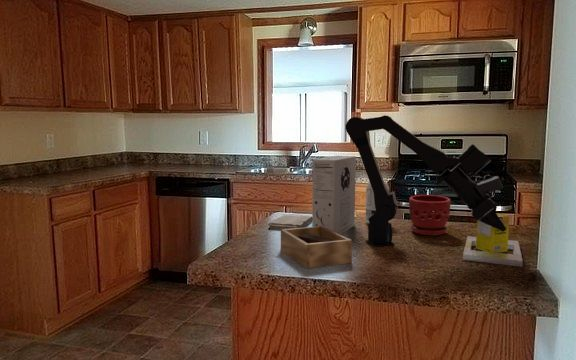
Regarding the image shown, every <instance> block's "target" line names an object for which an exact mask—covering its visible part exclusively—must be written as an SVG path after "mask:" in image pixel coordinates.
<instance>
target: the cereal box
mask: <svg viewBox="0 0 576 360" xmlns="http://www.w3.org/2000/svg"><path fill="white" fill-rule="evenodd" d="M356 158H357V157H356V156H355V155H332V156H325V157H321V158H320V157H319V158H315V159H314V158H313V159H312V194H311V195H312V197H311V198H312V199H311V200H312V201H311V202H312V203H311V205H312V209H311V210H312V211H311V213H312V215H311V216H312V222H311V223H312V224H311V227H316V226H323V227H325V228H327V229H329V230H331V231H334V232H336V233H338V234H340V235H342V234H343V233H345V232H347V231H348V230H349V229H352V228H354V227H355V223H356V222H355V219H356V218H355V217H356V216H355V214H356V206H355V205H356V204H355V203H356V168H357V166H356V165H357V163H356V162H357V159H356Z"/></svg>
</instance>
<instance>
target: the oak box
mask: <svg viewBox="0 0 576 360" xmlns="http://www.w3.org/2000/svg"><path fill="white" fill-rule="evenodd" d="M305 234H311V235H315V236H318V237H322V238H326V239H330V240H332V241H329V242H319V243H309V244H308V243H306V242H305V241H303V240H301V239H299V236H301V235H305ZM280 251H281V252H283V253H284V254H285V255H287V256H288V257H289V258H291V259H292V260H293V261H295V262H296V263H298V264H299V265H301V266H302V267H304V269H311V268H319V267H320V268H321V267H329V266H335V265H345V264H351V263H352V262H353V259H352V258H353V240H352V239H351V238H348V237H346V236H344V235H342V234H338V233H336V232H334V231H331V230H329V229H327V228H325V227H323V226H316V227H312V226H309V227H308V226H306V227H304V228H293V229H282V230H280Z"/></svg>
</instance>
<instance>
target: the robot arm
mask: <svg viewBox="0 0 576 360" xmlns="http://www.w3.org/2000/svg"><path fill="white" fill-rule="evenodd" d="M379 130H385V132H387V133H388V134H389V135H391V136H392V137H394V138H395V139H396V140H397V141H398V142H400V143H401V144H403V146H406V147H407V148H408V149H410V150H412V152H414V153H415V154H416V156H418V157H419V158H420V160H421V161H422V162H423V163H424V164H425V165H426V166H427V167H428V169H430V170H431V171H433V172H435V173H436V172H437V173H438V172H442V171H443V172H442V173H441V174H435V178H436V181H435V182H436V186H439V185H440V184H441V183H443V182H444V184H445V185H446V186H447V187H448V188H449V189H450V190H451V191H452V192H453V193H454V194H455V195H456V197H457V198H458V199H460V200H461V201H462V203H464V204H465V205H466V206H467V208H468V209H469V210H471V212H470V213H471V216H472V217H473V218H474V219H475V220H476V221H477V220H478V221H480V222H483V223H485V224H488V225H490V226H492V227H494V228H497V229H499V230H501V231H505V230H506V227H505V226H504V224H503V223H502V221H501V220H500V218H499V217H498V216H497V214H496V213H497V208H498V206H497V204H496V203H495V202H494V200H492V198H491V196H490V195H489V194H490V193H492V192H495V191H500V190H502V189H504V186H503V184H502V181H501V179H500V176H498V175H497V176H492V175H490V174H486V175H484V176H483V180H482V181H480V182H478V183H477V182H476V181H475V180H472V179H471V178H470V177H469V176H468V175H471V174H474V175H477V174H478V173H479V172H480V171H481V170H482V169H483V168H485V167H486V166H487V165H488V164H489V163H491V162H492V160H491V159H490V158H489V156H487V155H486V153H484V152H483V151H481V150H480V149H479V148H478V147H477V146H476V145H475V144H473V143H472V144H470V145H469V146H468V148H466V150H464V151H463V152H462V154H460V155H459V156H455V155H453V156H452V155H447V153H445V152H444V151H442V150H440V149H438V148H436V147H434V146H432V145H430V144H428V143H425V142H424V141H422V140H421V139H419V138H418V137H417V136H416V135H414V134H413V133H412V132H410V131H409V130H407V129H406V128H404V127H403V126H402V125H401V124H399V123H398V122H396V121H395V120H394V119H393V117H391V116H389V115H381V116H379V117H378V116H377V117H369V118H363V117H359V116H352V117H350V118H349V119H348V120H347V122H346V123H345V131H346V133H347V135H348V136H349V138H350V140H351V141H352V143H353V144H354V145H355V147H356V149H357V150H358V153H359V156H360V159H361V162H362V164H363V165H362V166H364V169H365V173H366V175H367V178H368V181H369V182H370V184H371V187H372V189H373V192H374V202H375V208H376V211H375V212H374V213H373V214H372V215H371V216H370V218H369V223H368V224H367V229H368V230H367V233H368V234H367V239H365V241H364V242H366V243H368V244H370V245H372V246H374V247H383V246H384V247H385V246H391V245H392V246H393V245H395V242H393V232H394V231H393V227H392V223H391V222H390V221H391V220H393V219H394V218H395V217H396V215H397V212H398V209H399V207H398V206H399V204H400V202H399V201H398V200H397V197H396V193H395V191H394V190H393V191H391V192H390V190H389V191H388V189H387V188H386V186H385V183H384V182H385V181H384V178H383V174H382V172H381V169H380V166H379V163H378V161H377V158H376V156H375V153H374V150H373V147H372V145H371V135H370V132H371V131H379ZM448 167H453V168H452V169H449V168H448ZM460 167H461V168H462V169H463V170H464V171H465V172H466V173H467V174H468V175H467V174H466V173H465V172H464V171H463V170H462V169H461V168H460ZM446 168H447V169H446Z"/></svg>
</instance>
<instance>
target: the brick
mask: <svg viewBox="0 0 576 360" xmlns="http://www.w3.org/2000/svg"><path fill="white" fill-rule="evenodd" d="M299 239H301V240H303V241H305V242H306V243H308V244H309V243H319V242H329V241H332V240H330V239H326V238H322V237H318V236H315V235H311V234H305V235H301V236H299Z"/></svg>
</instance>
